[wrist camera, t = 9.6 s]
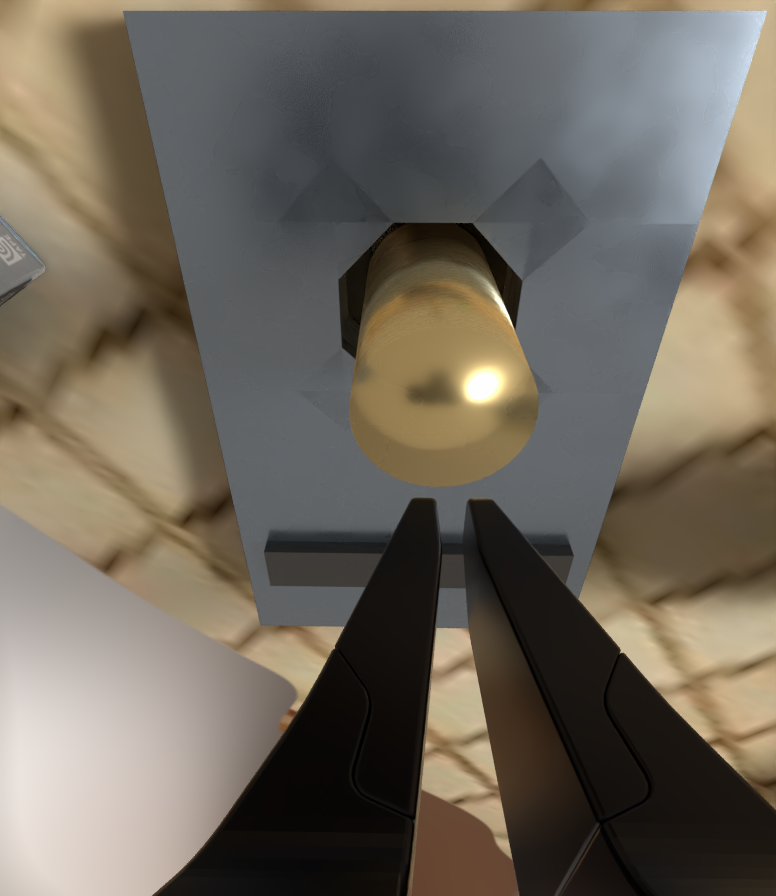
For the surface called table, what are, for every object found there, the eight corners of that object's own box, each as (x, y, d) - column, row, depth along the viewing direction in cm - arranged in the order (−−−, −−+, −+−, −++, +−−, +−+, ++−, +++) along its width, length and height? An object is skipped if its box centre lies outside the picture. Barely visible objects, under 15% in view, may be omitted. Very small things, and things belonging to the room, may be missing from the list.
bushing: (495, 219, 17) (554, 328, 10) (481, 338, 19) (523, 488, 13) (365, 218, 17) (344, 326, 11) (368, 338, 19) (352, 485, 13)
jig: (714, 14, 14) (782, 10, 11) (555, 585, 27) (571, 641, 24) (162, 14, 14) (111, 9, 12) (271, 582, 27) (257, 636, 25)
